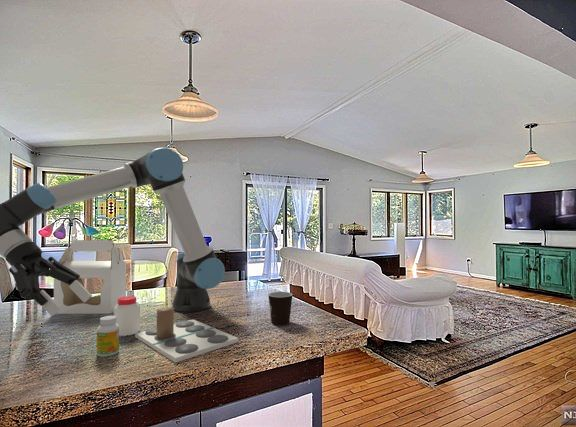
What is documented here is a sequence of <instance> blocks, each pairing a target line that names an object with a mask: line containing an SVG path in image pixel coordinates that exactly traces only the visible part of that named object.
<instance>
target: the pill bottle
mask: <svg viewBox="0 0 576 427" xmlns="http://www.w3.org/2000/svg"><path fill="white" fill-rule="evenodd" d="M113 316H116V324H118V325H119V337H126V336H127V335H128V336H131V335H135V333H139V332H141V304H140V303H139V302H137V296H134V295H128V296H127V295H126V296H125V297H120V298H118V304H116V305H115V306H114V312H113Z"/></svg>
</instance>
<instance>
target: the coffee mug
mask: <svg viewBox="0 0 576 427" xmlns="http://www.w3.org/2000/svg"><path fill="white" fill-rule="evenodd" d="M267 295H268V305H269V311H270V312H269V314H270V323H271V324H272V325H274V326H278V327H279V326H288V325H289V324H290V319H291V312H292V311H291V310H292V304H293V303H292V302H293V293H291V292H289V291H273V292H269V293H268V294H267Z"/></svg>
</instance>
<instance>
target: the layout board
mask: <svg viewBox="0 0 576 427" xmlns="http://www.w3.org/2000/svg"><path fill="white" fill-rule="evenodd" d="M174 312H175V310H174V308H172V306H170V307H169V306H167V307H160V308H158V309H156V327H153V328H149V329H147V330H144V331H143V330H142V331H139V332H138V333H135V334H134V335H135V336H134V337H135V338H136V339H137V338H138V341H140V342H142V343H144V344H145V345H147V346H148V347H150V348H151V349H153V350H155V352H158V353H159V354H160V355H162V356H164V357H165V358H167V359H168V360H170V361H171V362H173V363H178V362H182V361H185V360H188V359H191V358H194V357H197V356H200V355H203V354H206V353H210V352H212V351H215V350H218V349H221V348H224V347H227V346H230V345H233V344H237V343H239V337H238V336H234V335H233V334H230V333H227V332H225V331H222V330H220V329H218V328H215V327H214V326H210V325H208V324H205V323H204V322H201V321H198V320H196V319H189V320H183V321H178V322H176V323H174V317H175V316H174V315H175V313H174Z"/></svg>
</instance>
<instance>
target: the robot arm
mask: <svg viewBox="0 0 576 427" xmlns="http://www.w3.org/2000/svg"><path fill="white" fill-rule="evenodd" d="M183 171H184V162H183V159H182V157H181V155H179V153H177V151H175V150H173V149H171V148H168V147H158V148H154V149H153V150H150V151H149V152H147V153H146V154H144V155H142V156H141V157H139V158H137V159H135V160H131V161H129V162H125V163H124V165H123V166H121V167H117V168H114V169H110V170H107V171H103V172H99V173H95V174H93V175H88V176H85V177H80V178H77V179H73V180H69V181H66V182H62V183H58V184H55V185H52V186H45V185H44V184H43V183H41V182H37V183H35V184H33V185H31V186H28V187H26V188H25V189H24V190H22V191H20V192H19V193H17V194H15V195H14V196H12V197H10V198H9V199H7V200H5V201H4V202H2V203H0V256H1V257H3V258H5V261H6V262H7V263H8V264H9V265H10V268H8V271H9V273H10V274H11V275H12V276H13V279H14V283H15V284H16V287H17V290H18V292H19V296H20V297H21V298H25V299H26V300H28V301H31V299H33V300H34V301H35V302H36V303H37V304H38V305H39V306H41V307H42V308H43V309H44V310H45V311H46V312H47V313H48V314H49V316H51V317H53V316H54V315H56V314H55V313H56V312H57V311H58V310H59V309H61V307H60V306H59V305H58V304H57V303H56V302H55V301H54V298H52V297H51V296H50V294H48V293H47V292H46V291H45V290H44V289H41V290H40V280H39V278H40V277H43V276H44V277H47V278H48V277H50V278H53V279H54V278H55V279H57V280H59V281H62V282H64V283H66V284H69V285H70V286H69V288H70V289H71V290H72V291H73V292H74V293H75V294H76V295H77V296H78V297H79V298H80V299H81V300H82V301H83V302H86V301H87V300H88V299H89V298H90V297H93V294H92V293H90V291H88V290H87V288H85V287H83V286H82V285H81V284H80V283H79V282H78V279H79V278H80V275H78V274H77V273H75V272H74V271H72V270H70V269H69V268H67V267H65V266H64V265H62V264H61V263H59V261H57V260H56V259H55V257H53V256H49V257H48V258H47V259H45V258H44V257H42V255H43V254H42V253H43V250H42V249H41V248H40V247H39V245H37V243H35V242H34V241H33V240H32V238H31V237H29V236H28V234H26V233H25V232H24V230H23V229H22V228H20V226H22V225H24V224H25V223H27V222H29V221H30V220H32V219H33V218H35V217H37V216H39V215H41V214H45V213H48V212H52V211H54V210H57V209H58V210H59V209H61V208H65V207H67V206H70V205H74V204H79V203H81V202H84V201H87V200H91V199H94V198H98V197H101V196H104V195H107V194H110V193H113V192H117V191H121V190H123V189H128V188H130V187H131V188H134V189H137V188H139V187H144V186H148V185H150V186H151V189H152V191H153V192H154V193H155V194H158V195H159V196H160V198H161V201H162V204H163V206H164V208H165V212H166V213H167V215H168V218H169V220H170V222H171V225H172V227H173V230H174V231H175V234H176V237H177V239H178V242H179V244H180V245H181V248H182V251H183V252H179V253H178V254H177V256H176V291H175V294H174V297H173V301H172V303H171V304H172V305H171V308H174V312H185V313H188V312H189V313H191V312H193V313H194V312H199V311H204V310H207V309H208V308H210V307H211V300H210V299H211V298H210V296H209V292H208V290H210V289H213V288H216V287H217V286H219V285H220V284H221V282H222V281H223V280H224V279H223V278H224V276H225V273H226V268H225V265H224V263H223V262H222V261H221V260H220V259H219V258H217V256H216V254H215V251H214V249H213V247H212V246H209V245H207V242H206V240H205V237H204V236H203V235H204V234H203V232H202V230H201V227H200V225H199V222H198V220H197V217H196V215H195V213H194V210H193V207H192V206H191V205H192V204H191V203H190V200H189V197H188V195H187V193H186V190H185V188H184V185H185V183H186V178H185V176H184V174H183Z"/></svg>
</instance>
